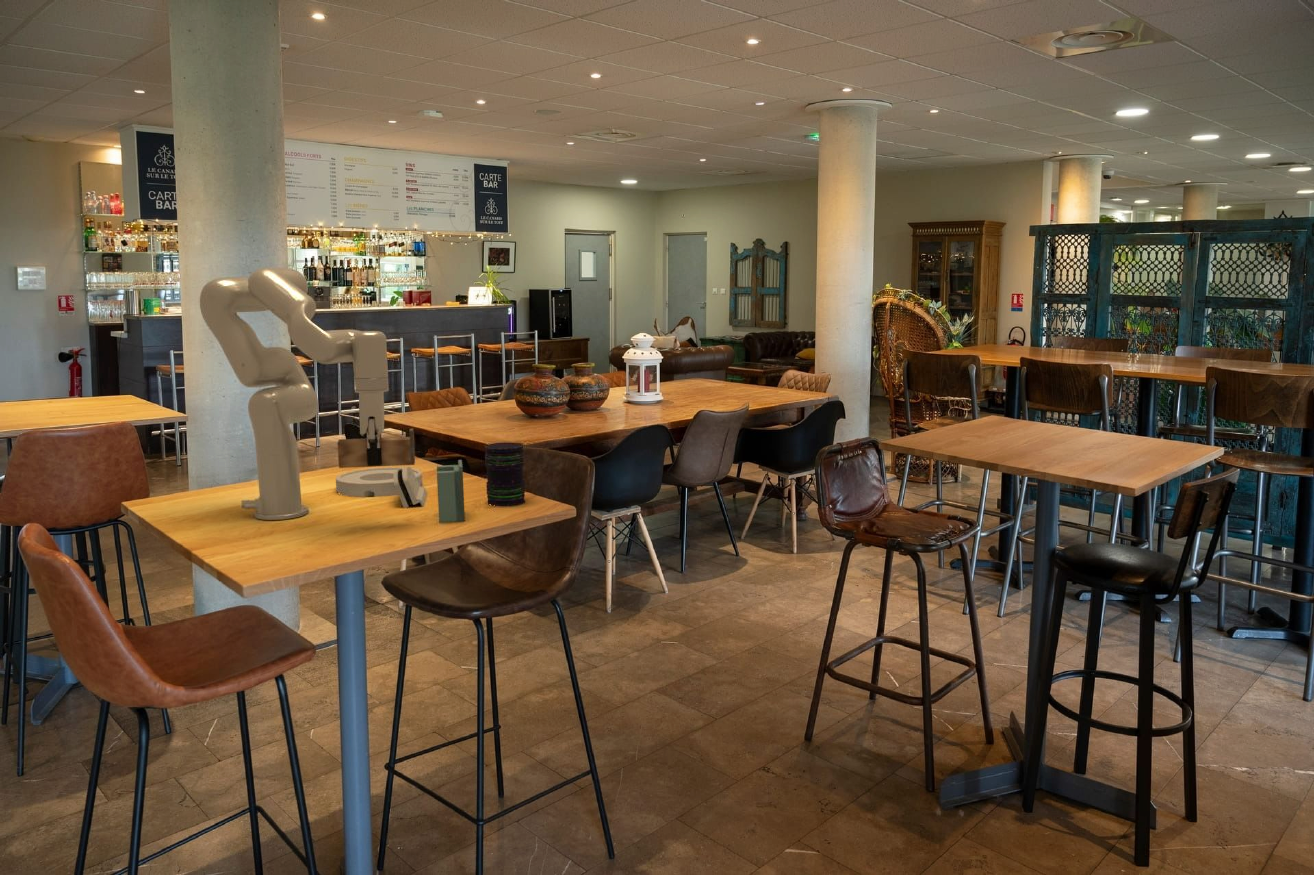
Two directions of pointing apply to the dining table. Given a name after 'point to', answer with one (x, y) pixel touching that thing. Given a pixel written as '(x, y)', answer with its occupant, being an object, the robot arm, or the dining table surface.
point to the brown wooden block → (391, 448)
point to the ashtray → (370, 482)
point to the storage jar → (505, 474)
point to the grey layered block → (409, 487)
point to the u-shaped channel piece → (450, 493)
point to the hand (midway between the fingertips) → (375, 462)
